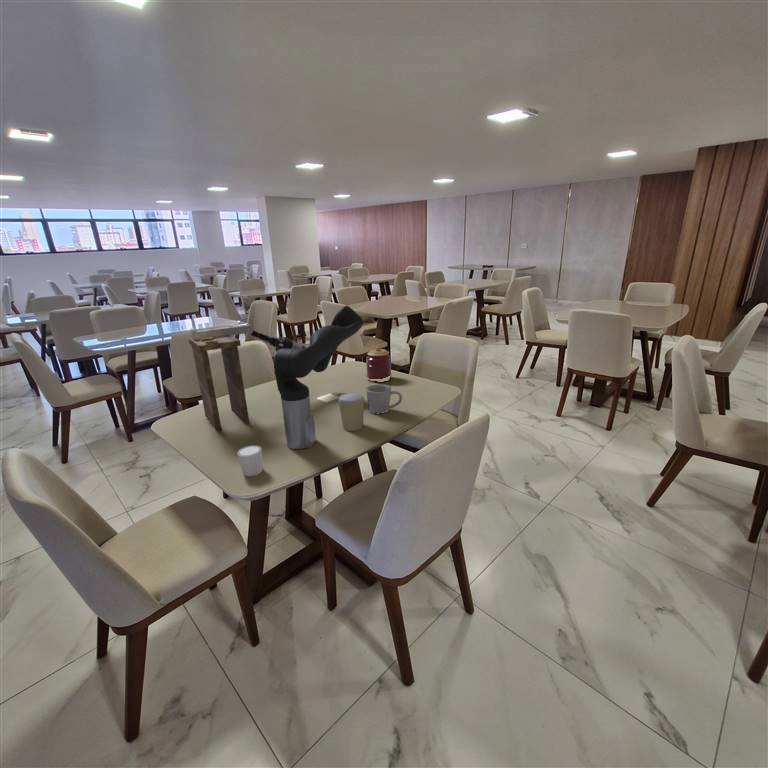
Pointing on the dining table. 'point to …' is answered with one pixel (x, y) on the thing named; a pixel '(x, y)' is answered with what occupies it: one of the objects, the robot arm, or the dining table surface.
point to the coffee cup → (351, 411)
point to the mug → (380, 398)
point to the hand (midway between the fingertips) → (255, 333)
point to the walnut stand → (231, 372)
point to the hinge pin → (221, 332)
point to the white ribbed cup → (250, 460)
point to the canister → (378, 364)
